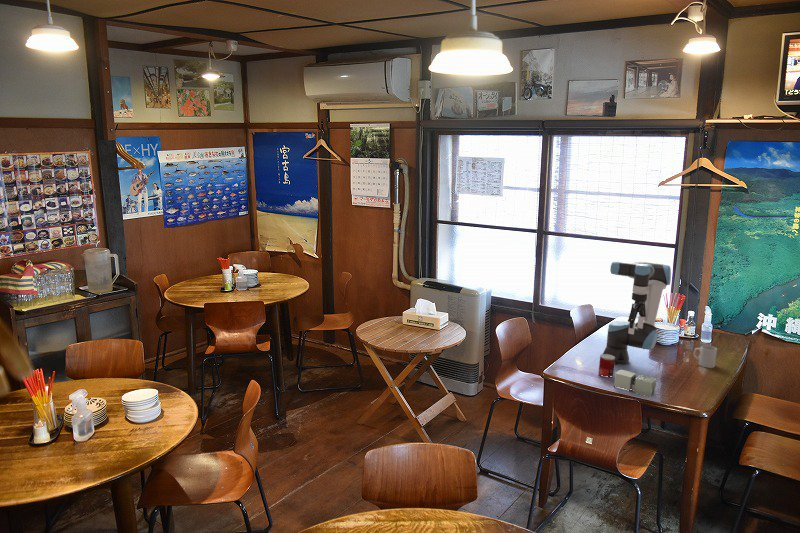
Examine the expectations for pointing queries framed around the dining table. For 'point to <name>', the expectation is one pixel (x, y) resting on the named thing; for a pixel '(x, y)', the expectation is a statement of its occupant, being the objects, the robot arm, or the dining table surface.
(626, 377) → the beige hollow box
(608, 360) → the canned food
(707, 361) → the mug
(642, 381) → the pale grey block
